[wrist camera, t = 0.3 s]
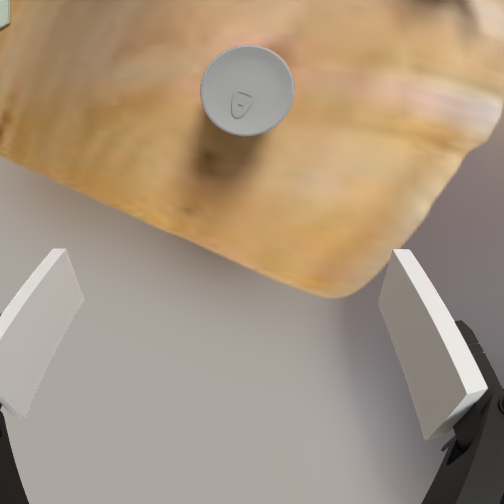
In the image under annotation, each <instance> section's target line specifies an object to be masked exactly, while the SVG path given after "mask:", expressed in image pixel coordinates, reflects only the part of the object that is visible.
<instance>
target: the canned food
mask: <svg viewBox="0 0 504 504" xmlns="http://www.w3.org/2000/svg"><path fill="white" fill-rule="evenodd" d="M294 89H295V87H294V79H293V76H292V73H291V70H290V69H289V67H288V65H287V64H286V62H285V61H284V60H283V59H282V58H281V57H280V56H279V55H278V54H276V53H275V52H273V51H272V50H269V49H267V48H265V47H261V46H257V45H241V46H236V47H233V48H230V49H228V50H226V51H224V52H223V53H221V54H220V55H218V56H217V57H216V58H215V59H214V60H213V61H212V62H211V63H210V65H209V66H208V68H207V69H206V71H205V73H204V75H203V78H202V82H201V88H200V96H201V102H202V106H203V108H204V111H205V113H206V114H207V116H208V117H209V119H210V120H211V121H212V122H213V123H214V124H215V125H216V126H217V127H219V128H220V129H222V130H223V131H225V132H228V133H230V134H233V135H238V136H254V135H259V134H262V133H265V132H267V131H269V130H271V129H272V128H274V127H275V126H276V125H278V124H279V123H280V122H281V121H282V120H283V119H284V117H285V116H286V115H287V113H288V111H289V109H290V108H291V105H292V102H293V99H294Z"/></svg>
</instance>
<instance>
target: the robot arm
mask: <svg viewBox="0 0 504 504" xmlns="http://www.w3.org/2000/svg"><path fill="white" fill-rule="evenodd" d="M84 299H85V298H84V296H83V293H82V291H81V288H80V286H79V283H78V280H77V278H76V275H75V272H74V269H73V266H72V264H71V261H70V258H69V255H68V252H67V249H52V250H51V252H50V253H49V254H48V255H47V257H45V259H44V260H43V261H42V262H41V263H40V265H39V266H38V267H37V268H36V269H35V271H34V272H33V273H32V274H31V276H30V277H29V278H28V280H27V281H26V282H25V283H24V285H23V286H22V287H21V288H20V290H19V291H18V293H17V294H16V295H15V297H14V298H13V299H12V301H11V302H10V303H9V305H8V306H7V307H6V309H5V310H4V312H2V313H1V314H0V409H1V406H3V407H4V408H5V409H6V410H7V411H8V412H9V413H10V414H12V415H14V416H17V417H19V418H22V419H25V418H26V416H27V413H28V411H29V408H30V406H31V404H32V402H33V399H34V397H35V395H36V392H37V390H38V388H39V386H40V384H41V382H42V379H43V377H44V375H45V373H46V371H47V369H48V367H49V365H50V363H51V361H52V359H53V357H54V355H55V353H56V351H57V349H58V347H59V345H60V343H61V341H62V339H63V337H64V336H65V334H66V332H67V330H68V328H69V326H70V324H71V323H72V320H73V319H74V317H75V315H76V314H77V312H78V310H79V308H80V307H81V305H82V303H83V301H84ZM378 306H379V308H380V311H381V313H382V315H383V318H384V321H385V323H386V325H387V328H388V331H389V334H390V336H391V339H392V342H393V344H394V347H395V350H396V353H397V355H398V358H399V361H400V364H401V366H402V370H403V372H404V375H405V378H406V381H407V384H408V387H409V390H410V393H411V396H412V399H413V403H414V406H415V409H416V412H417V416H418V419H419V422H420V426H421V429H422V433H423V436H424V440H425V441H428V440H432V439H435V438H439V437H443V436H445V435H446V434H447V433H448V432H449V431H450V430H451V429H452V428H454V431H455V434H456V435H455V436H454V437H453V438H452V439H450V440H449V441H448V442H447V443H446V444H445V445H444V446H443V448H442V449H441V451H444V450H445V449H447V448H448V447H449V448H448V450H447V452H446V455H445V457H444V459H443V462H442V464H441V466H440V468H439V470H438V472H437V474H436V476H435V479H434V481H433V483H432V485H431V486H430V489H429V490H428V492H427V494H426V496H425V498H424V500H423V502H422V503H421V504H504V389H503V388H502V387H501V385H500V383H499V381H498V379H497V377H496V375H495V372H494V370H493V368H492V367H491V365H490V363H489V361H488V359H487V357H486V355H485V354H484V353H483V349H482V347H481V346H480V344H478V340H477V338H476V337H475V335H474V333H473V331H472V330H471V329H470V328H469V327H468V326H467V325H466V324H465V323H464V322H463V321H462V320H461V321H454V320H453V319H452V317H451V315H450V313H449V312H448V310H447V309H446V306H445V305H444V303H443V301H442V300H441V298H440V296H439V295H438V293H437V291H436V290H435V288H434V286H433V285H432V283H431V282H430V280H429V279H428V277H427V275H426V274H425V272H424V271H423V269H422V268H421V266H420V264H419V263H418V262H417V260H416V258H415V257H414V256H413V254H412V252H411V251H410V250H402V249H393V250H392V254H391V258H390V262H389V266H388V270H387V273H386V277H385V280H384V284H383V287H382V290H381V294H380V297H379V301H378ZM0 504H29V502H28V500H27V497H26V494H25V491H24V488H23V486H22V483H21V480H20V477H19V473H18V470H17V467H16V464H15V460H14V457H13V453H12V449H11V446H10V441H9V437H8V433H7V429H6V424H5V419H4V416H3V413H2V412H1V411H0Z"/></svg>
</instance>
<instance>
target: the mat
mask: <svg viewBox="0 0 504 504" xmlns="http://www.w3.org/2000/svg"><path fill="white" fill-rule="evenodd" d="M10 6H11V0H0V28H2V27H4V26H6V25H7V24H9V23H10Z"/></svg>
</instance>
